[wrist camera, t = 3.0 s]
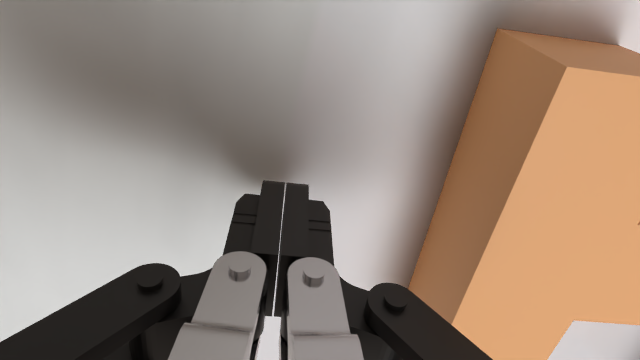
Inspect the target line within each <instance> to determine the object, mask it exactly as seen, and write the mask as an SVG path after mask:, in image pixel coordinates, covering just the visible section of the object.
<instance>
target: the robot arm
mask: <svg viewBox="0 0 640 360" xmlns="http://www.w3.org/2000/svg"><path fill="white" fill-rule="evenodd" d="M284 186H285V183H284V182H275V181H265V180H263V183H262V189H261V194H260V195H253V194H244V195H243V196H242V197H241V198H240V199H239V200H238V201H237V202H236V205H235V209H234V214H233V217H232V221H231V225H230V229H229V233H228V236H227V240H226V244H225V248H224V252H223V256H221V257H220V258H219V259H217V261H216V262H215V263H214V265H213V268H211V269H209V270H207V271H205V272H202V273H199V274H194V275H188V276H182V277H180V275H179V273H178V272H177V271H176V270H175V269H174V268H173V267H171V266H168V265H165V264H159V263H152V264H146V265H142V266H139V267H137V268H134V269H133V270H131V271H129V272H127V273H125V274H123V275H122V276H120V277H118V278H116V279H114V280H113V281H111V282H109V283H107V284H105V285H103V286H102V287H100V288H98V289H96V290H94V291H93V292H91V293H89V294H87V295H85V296H83V297H82V298H80V299H78V300H76V301H74V302H73V303H71V304H69V305H67V306H65V307H63V308H62V309H60V310H58V311H56V312H54V313H52V314H51V315H49V316H47V317H45V318H43V319H42V320H40V321H38V322H36V323H34V324H32V325H31V326H29V327H27V328H25V329H23V330H22V331H20V332H18V333H16V334H14V335H12V336H11V337H9V338H7V339H5V340H3V341H2V342H0V360H256V358H257V353H258V348H259V343H260V335H261V334H262V332H263V328H264V319H265V316H272V309H273V300H274V291H275V281H276V272H277V263H278V254H279V264H278V276H277V288H276V299H275V311H274V316H277V317H281V328H280V336H279V360H493V359H492V358H491V357H489V356H488V355H487V354H486V353H485V352H483V351H482V350H481V349H480V348H479V347H477V346H476V345H475V344H474V343H473V342H471V341H470V340H469V339H468V338H467V337H465V336H464V335H463V334H462V333H461V332H459V331H458V330H457V329H456V328H455V327H453V326H452V325H451V324H450V323H449V322H447V321H446V320H445V319H444V318H443V317H441V316H440V315H439V314H438V313H437V312H435V311H434V310H433V309H432V308H431V307H429V306H428V305H427V304H426V303H425V302H423V301H422V300H421V299H420V298H419V297H417V296H416V295H415V294H414V293H413V292H411V291H410V290H409V289H407V288H405V287H403V286H401V285H398V284H394V283H381V284H378V285H376V286H374V287H373V288H372V289H371V290H370V291H367V290H364V289H361V288H358V287H355V286H353V285H351V284H349V283H347V282H346V281H344V280H343V279H342V278H341V277H340V276H339V274H338V271H337V269H336V268H335V267H334V259H333V246H332V233H331V224H330V222H331V220H330V211H329V209H328V208H327V206H326V205H325V204H324V202H323V201H315V200H309V187H308V185H305V184H295V183H287V185H286V194H285V203H284V212H283V221H282V230H281V220H282V209H283V198H284ZM280 231H281V241H280ZM279 243H280V253H279Z"/></svg>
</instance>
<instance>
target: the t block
mask: <svg viewBox="0 0 640 360" xmlns="http://www.w3.org/2000/svg"><path fill="white" fill-rule="evenodd" d="M408 289H409V290H410V291H411V292H413V293H414V294H415V295H416V296H417V297H419V298H420V299H421V300H422V301H423V302H425V303H426V304H427V305H428V306H429V307H431V308H432V309H433V310H434V311H435V312H437V313H438V314H439V315H440V316H441V317H443V318H444V319H445V320H446V321H447V322H449V323H450V324H451V325H452V326H453V327H455V328H456V329H457V330H458V331H459V332H461V333H462V334H463V335H464V336H465V337H467V338H468V339H469V340H470V341H471V342H473V343H474V344H475V345H476V346H477V347H479V348H480V349H481V350H482V351H483V352H485V353H486V354H487V355H488V356H489V357H491V358H492V359H493V360H547V359H548V357H549V356H550V354H551V353H552V351H553V350H554V348H555V347H556V346H557V344H558V343H559V341H560V340H561V338H562V337H563V335H564V334H565V332H566V331H567V329H568V328H569V326H570V325H571V323H572V322H573V320H576V321H590V322H603V323H617V324H630V325H640V54H639V53H637V52H634V51H632V50H629V49H626V48H624V47H621V46H619V45H612V44H605V43H597V42H590V41H583V40H576V39H569V38H562V37H555V36H548V35H541V34H534V33H527V32H520V31H513V30H505V29H498V28H497V31H496V34H495V37H494V40H493V43H492V45H491V48H490V51H489V54H488V57H487V60H486V63H485V66H484V69H483V72H482V75H481V77H480V80H479V83H478V86H477V89H476V92H475V95H474V98H473V101H472V104H471V107H470V110H469V112H468V115H467V118H466V121H465V124H464V127H463V130H462V133H461V136H460V139H459V142H458V144H457V147H456V150H455V153H454V156H453V159H452V162H451V165H450V168H449V171H448V174H447V177H446V179H445V182H444V185H443V188H442V191H441V194H440V197H439V200H438V203H437V206H436V209H435V211H434V214H433V217H432V220H431V223H430V226H429V229H428V232H427V235H426V238H425V241H424V243H423V246H422V249H421V252H420V255H419V258H418V261H417V264H416V267H415V270H414V273H413V276H412V278H411V281H410V284H409V287H408Z"/></svg>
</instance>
